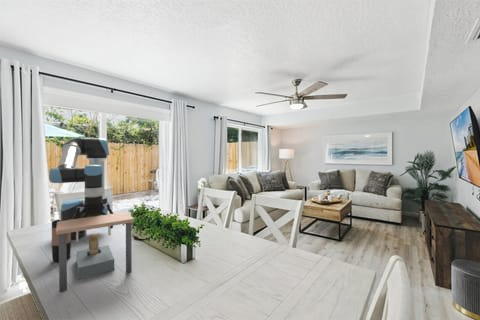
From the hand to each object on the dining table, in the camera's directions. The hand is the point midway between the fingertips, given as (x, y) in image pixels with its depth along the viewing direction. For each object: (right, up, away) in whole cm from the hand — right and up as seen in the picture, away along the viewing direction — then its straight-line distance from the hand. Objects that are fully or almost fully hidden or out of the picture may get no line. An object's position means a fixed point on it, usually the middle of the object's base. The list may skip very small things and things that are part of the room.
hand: (93, 237), depth 113 cm
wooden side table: (+8, -13, -11) cm, 19 cm away
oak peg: (0, -12, 0) cm, 12 cm away
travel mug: (-18, -12, +2) cm, 22 cm away
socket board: (+2, -13, -3) cm, 13 cm away
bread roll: (+10, -12, +34) cm, 38 cm away
